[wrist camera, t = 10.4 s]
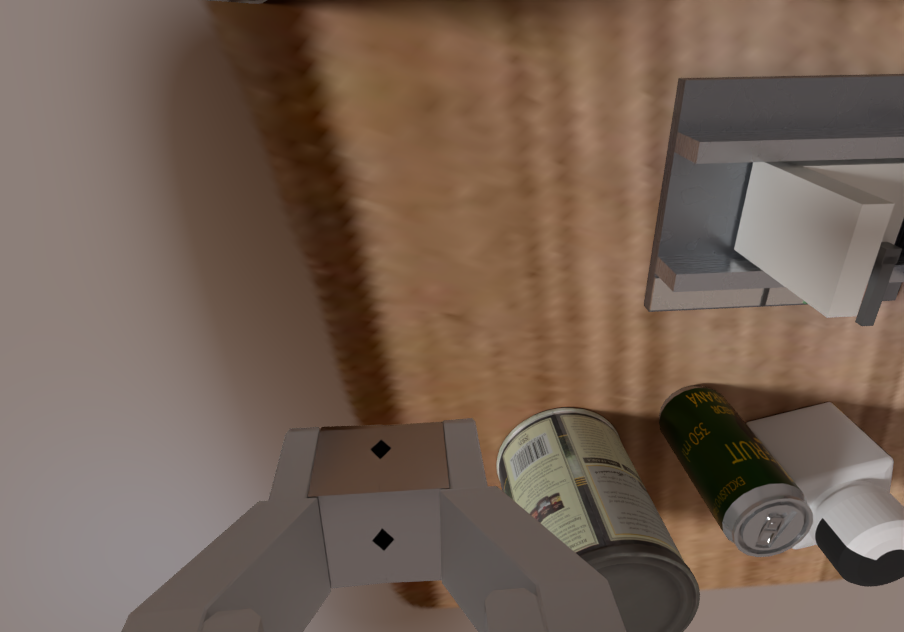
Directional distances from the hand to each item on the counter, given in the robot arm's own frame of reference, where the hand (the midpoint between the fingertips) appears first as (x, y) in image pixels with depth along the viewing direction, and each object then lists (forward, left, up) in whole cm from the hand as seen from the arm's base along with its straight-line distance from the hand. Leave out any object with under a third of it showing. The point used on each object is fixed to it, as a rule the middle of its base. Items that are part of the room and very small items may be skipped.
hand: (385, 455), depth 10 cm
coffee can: (+26, +12, -29) cm, 41 cm away
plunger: (+7, +26, -28) cm, 39 cm away
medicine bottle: (+26, +31, -29) cm, 50 cm away
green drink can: (+22, +22, -29) cm, 43 cm away
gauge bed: (+5, +26, -29) cm, 39 cm away
